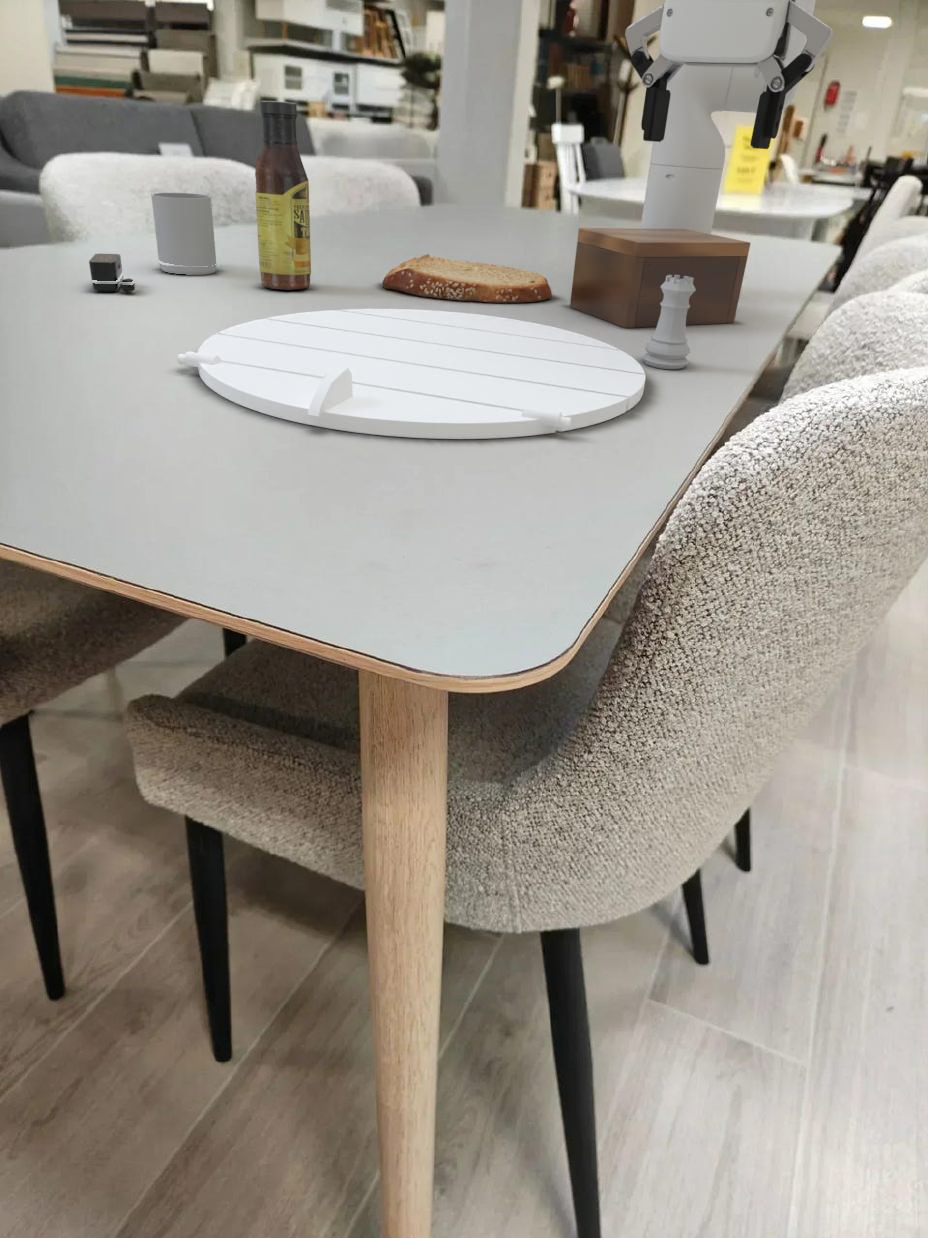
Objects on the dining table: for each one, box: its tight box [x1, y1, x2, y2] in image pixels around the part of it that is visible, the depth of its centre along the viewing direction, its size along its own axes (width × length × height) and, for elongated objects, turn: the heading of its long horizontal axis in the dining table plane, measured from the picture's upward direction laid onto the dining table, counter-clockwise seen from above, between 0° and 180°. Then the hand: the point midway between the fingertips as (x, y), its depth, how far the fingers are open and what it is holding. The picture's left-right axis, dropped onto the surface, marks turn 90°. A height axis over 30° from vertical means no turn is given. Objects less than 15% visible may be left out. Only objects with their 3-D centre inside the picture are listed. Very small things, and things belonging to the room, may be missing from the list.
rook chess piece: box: [642, 275, 696, 370], centre depth 82 cm, size 4×4×8 cm
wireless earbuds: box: [88, 253, 136, 293], centre depth 99 cm, size 5×7×3 cm, turn 13°
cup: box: [150, 192, 217, 276], centre depth 112 cm, size 7×10×9 cm
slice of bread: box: [381, 253, 553, 304], centre depth 110 cm, size 18×18×4 cm
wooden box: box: [569, 227, 751, 329], centre depth 103 cm, size 12×16×9 cm
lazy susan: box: [176, 308, 647, 440], centre depth 76 cm, size 40×39×3 cm
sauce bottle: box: [254, 100, 312, 291], centre depth 102 cm, size 6×6×20 cm
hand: (704, 144), depth 75 cm, fingers open, 9 cm apart
